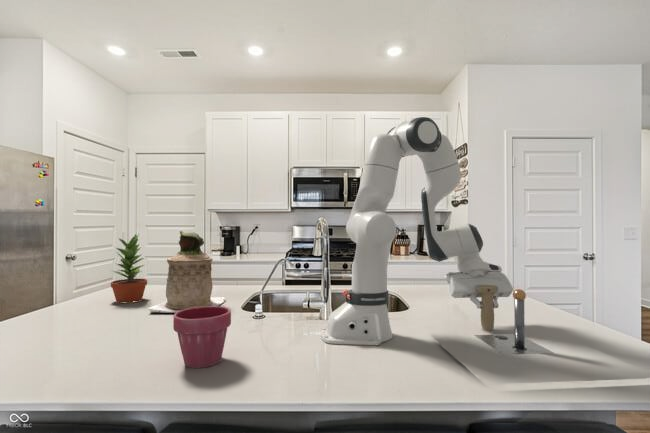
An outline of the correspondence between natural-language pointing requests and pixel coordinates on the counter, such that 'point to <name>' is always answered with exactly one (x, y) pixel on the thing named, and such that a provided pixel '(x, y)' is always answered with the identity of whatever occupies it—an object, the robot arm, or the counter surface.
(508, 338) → the plate
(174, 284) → the cookie jar
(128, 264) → the potted plant
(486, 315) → the handle
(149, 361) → the counter surface
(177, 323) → the plant pot
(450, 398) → the counter surface
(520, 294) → the lever with round knob
